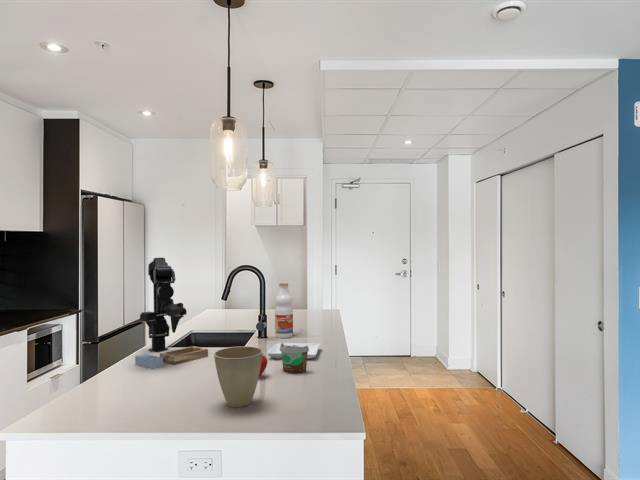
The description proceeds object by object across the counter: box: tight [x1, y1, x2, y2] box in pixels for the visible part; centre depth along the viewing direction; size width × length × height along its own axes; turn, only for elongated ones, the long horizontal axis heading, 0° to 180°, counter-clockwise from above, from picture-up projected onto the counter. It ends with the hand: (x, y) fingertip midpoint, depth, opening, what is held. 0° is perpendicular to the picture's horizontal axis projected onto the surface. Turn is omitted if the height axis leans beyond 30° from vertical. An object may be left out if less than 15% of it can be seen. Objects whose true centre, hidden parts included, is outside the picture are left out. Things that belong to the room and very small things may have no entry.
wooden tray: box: [159, 345, 209, 366], centre depth 198 cm, size 10×17×3 cm, turn 141°
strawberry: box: [259, 353, 268, 378], centre depth 169 cm, size 6×8×10 cm
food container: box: [280, 342, 309, 375], centre depth 175 cm, size 12×6×10 cm, turn 62°
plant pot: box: [213, 345, 264, 408], centre depth 142 cm, size 15×15×16 cm
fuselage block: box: [134, 353, 164, 370], centre depth 187 cm, size 12×4×4 cm, turn 54°
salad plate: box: [266, 342, 322, 360], centre depth 202 cm, size 21×21×3 cm
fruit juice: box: [274, 282, 294, 339], centre depth 241 cm, size 9×9×28 cm
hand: (164, 334), depth 190 cm, fingers open, 9 cm apart
